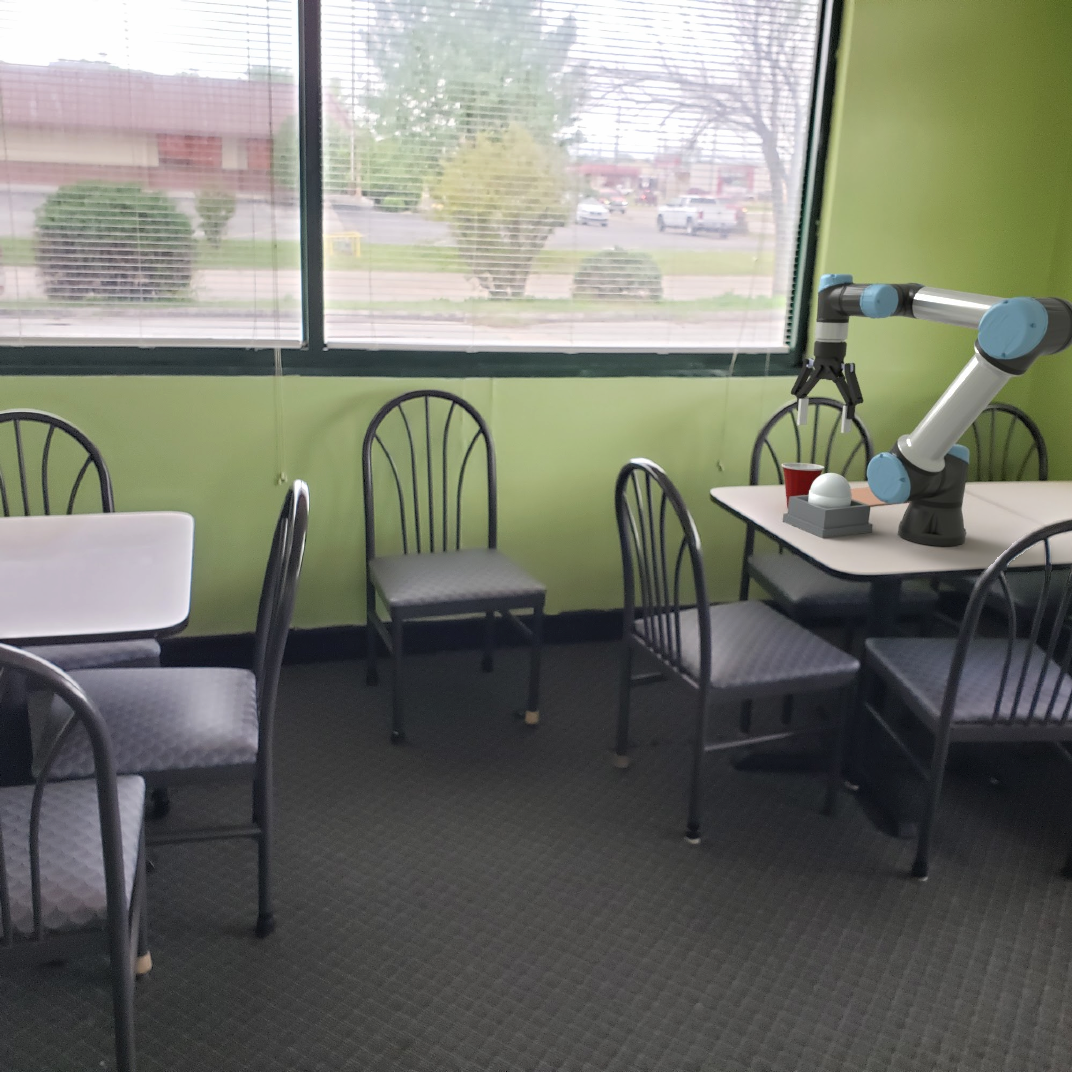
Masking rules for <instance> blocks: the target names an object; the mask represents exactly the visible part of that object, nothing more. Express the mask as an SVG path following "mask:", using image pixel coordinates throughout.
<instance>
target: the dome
mask: <svg viewBox="0 0 1072 1072" xmlns="http://www.w3.org/2000/svg"><path fill="white" fill-rule="evenodd" d="M851 489H852V488H851V485H850V483H849V482H848V480H847V479H846V478H845V477H844V476H843V475H841V474H838V473H836V472H827V473H822V474H821V475H820V476H819V477H817V478H816V479H815V480H814V482H813V483H812V485H811V488H810V490H809V498H808V502H810V503H813V504H815V505H818V506H821V507H823V508H826V509H828V508H837V507H847V506H851V497H852V494H851Z"/></svg>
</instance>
